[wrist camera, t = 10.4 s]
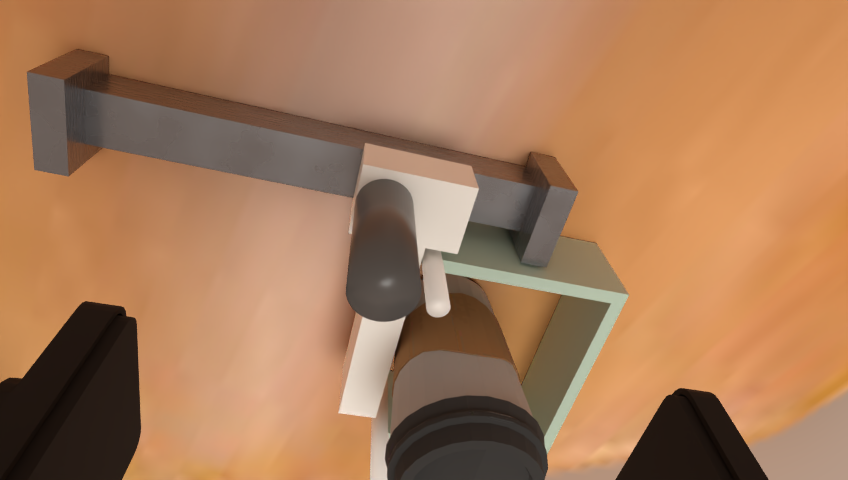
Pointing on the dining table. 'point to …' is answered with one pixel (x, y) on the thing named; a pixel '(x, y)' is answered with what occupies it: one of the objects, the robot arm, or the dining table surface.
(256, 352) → the dining table surface
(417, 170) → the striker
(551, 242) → the rail
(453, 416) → the coffee cup
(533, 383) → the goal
